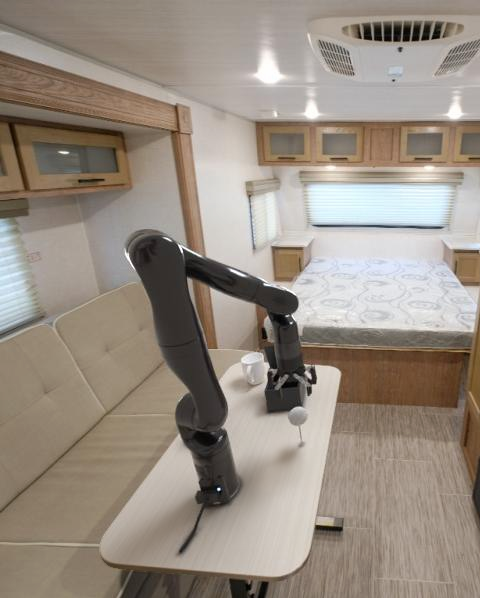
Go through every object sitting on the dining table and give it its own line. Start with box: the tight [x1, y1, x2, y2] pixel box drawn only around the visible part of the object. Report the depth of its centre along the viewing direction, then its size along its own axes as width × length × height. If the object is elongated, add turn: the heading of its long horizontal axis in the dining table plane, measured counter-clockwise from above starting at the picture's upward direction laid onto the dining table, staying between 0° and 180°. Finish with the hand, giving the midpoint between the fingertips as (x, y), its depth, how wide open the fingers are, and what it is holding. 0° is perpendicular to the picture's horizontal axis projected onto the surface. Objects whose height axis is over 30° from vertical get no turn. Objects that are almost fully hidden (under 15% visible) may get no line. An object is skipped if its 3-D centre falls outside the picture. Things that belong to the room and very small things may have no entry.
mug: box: [240, 351, 266, 386], centre depth 144 cm, size 12×9×12 cm
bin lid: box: [262, 343, 278, 369], centre depth 135 cm, size 14×13×5 cm
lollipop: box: [287, 407, 309, 446], centre depth 112 cm, size 6×6×15 cm
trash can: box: [263, 374, 306, 413], centre depth 134 cm, size 14×13×10 cm
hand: (295, 396), depth 107 cm, fingers open, 8 cm apart
